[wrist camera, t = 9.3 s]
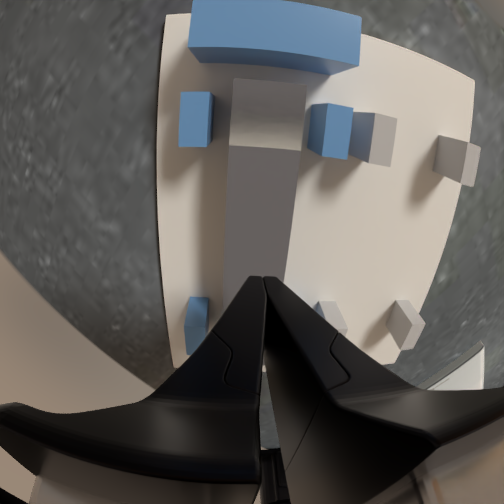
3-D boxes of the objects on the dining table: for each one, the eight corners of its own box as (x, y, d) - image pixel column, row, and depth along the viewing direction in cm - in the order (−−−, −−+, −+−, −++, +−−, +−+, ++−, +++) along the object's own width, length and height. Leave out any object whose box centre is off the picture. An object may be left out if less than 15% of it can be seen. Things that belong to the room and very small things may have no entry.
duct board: (392, 359, 19) (409, 394, 16) (174, 363, 18) (166, 406, 15) (470, 80, 10) (514, 83, 7) (168, 17, 9) (146, -11, 6)
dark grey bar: (266, 334, 17) (270, 365, 15) (223, 332, 17) (221, 364, 14) (293, 90, 11) (307, 85, 9) (234, 85, 11) (233, 78, 9)
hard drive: (415, 396, 21) (431, 429, 26) (485, 346, 19) (484, 393, 24) (409, 383, 23) (427, 419, 27) (477, 336, 21) (478, 384, 25)
